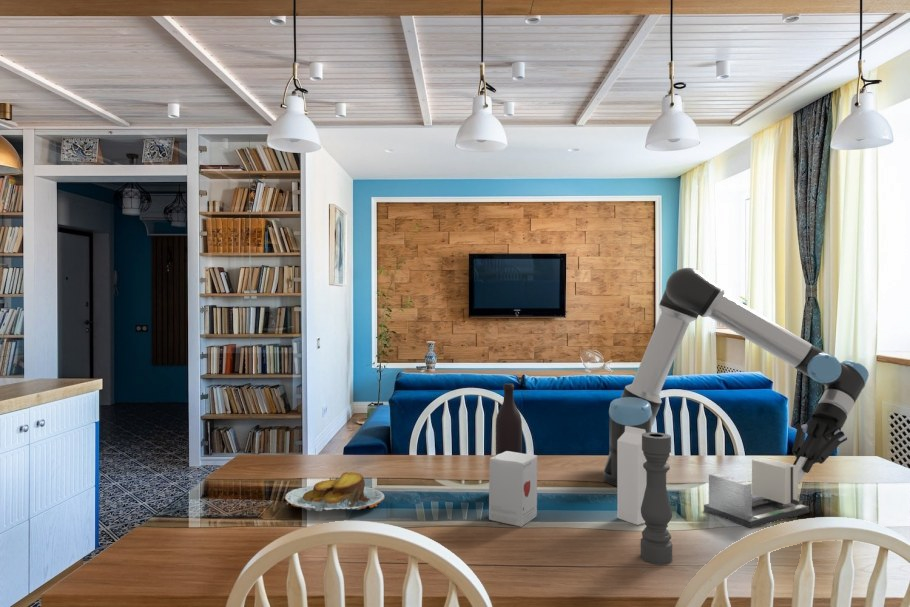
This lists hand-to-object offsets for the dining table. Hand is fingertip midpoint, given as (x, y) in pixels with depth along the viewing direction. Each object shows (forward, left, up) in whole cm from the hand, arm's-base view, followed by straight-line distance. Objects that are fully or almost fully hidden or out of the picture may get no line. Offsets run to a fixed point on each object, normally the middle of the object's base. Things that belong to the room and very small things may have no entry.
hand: (794, 480), depth 158 cm
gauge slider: (-3, -7, -3) cm, 9 cm away
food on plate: (-101, -64, -6) cm, 119 cm away
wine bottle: (-66, -34, -6) cm, 74 cm away
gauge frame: (-8, -13, -6) cm, 16 cm away
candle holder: (-22, -54, -6) cm, 58 cm away
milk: (-32, -34, -6) cm, 47 cm away
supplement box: (-57, -49, -6) cm, 75 cm away
